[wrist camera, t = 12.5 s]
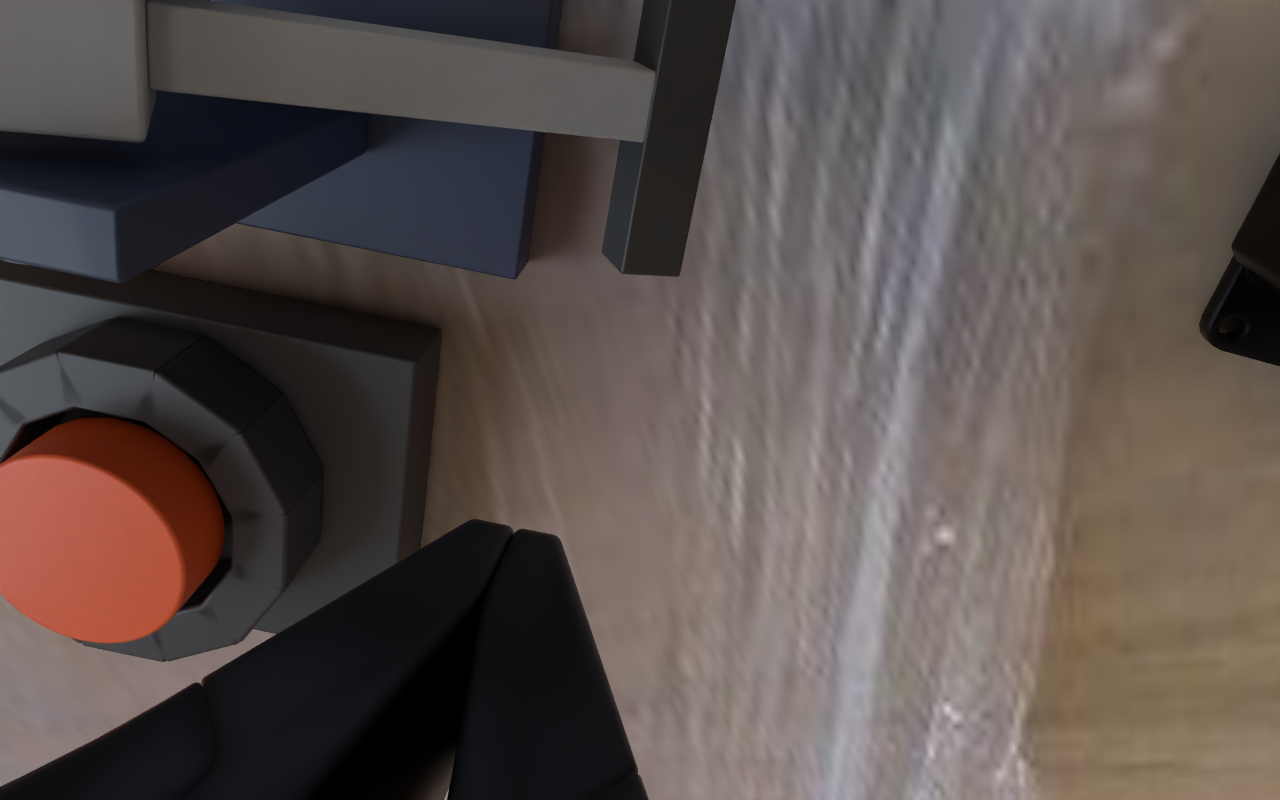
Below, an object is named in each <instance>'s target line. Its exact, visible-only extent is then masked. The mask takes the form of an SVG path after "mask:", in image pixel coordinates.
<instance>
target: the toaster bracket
mask: <svg viewBox="0 0 1280 800" xmlns="http://www.w3.org/2000/svg"><path fill="white" fill-rule="evenodd" d="M207 1H214V2H221V3H228V4H235V5H242V6H249V7H256V8H263V9H270V10H277V11H284V12H292V13H299V14H306V15H313V16H320V17H327V18H334V19H341V20H348V21H355V22H362V23H369V24H377V25H384V26H391V27H398V28H405V29H412V30H419V31H426V32H433V33H440V34H447V35H454V36H462V37H469V38H476V39H483V40H490V41H497V42H504V43H511V44H518V45H525V46H532V47H539V48H546V49H554V50H556V47H557V40H558V32H559V25H560V18H561V10H562V3H563V0H207ZM544 137H545V132H540V131H531V130H521V129H512V128H503V127H493V126H484V125H475V124H465V123H456V122H447V121H437V120H428V119H419V118H409V117H400V116H390V115H381V114H372V113H362V112H353V111H344V110H334V109H325V108H316V107H306V106H297V105H288V104H278V103H269V102H259V101H250V100H241V99H231V98H222V97H213V96H203V95H194V94H185V93H175V92H166V91H157V90H156V102H155V105H154V109H153V113H152V117H151V121H150V125H149V128H148V132H147V136H146V138H145V141H143V142H140V143H134V142H122V141H111V140H99V139H88V138H77V137H65V136H54V135H42V134H31V133H20V132H8V131H0V259H1V260H4V261H8V262H12V263H18V264H25V265H31V266H36V267H41V268H46V269H51V270H56V271H61V272H66V273H71V274H76V275H81V276H86V277H91V278H96V279H100V280H105V281H110V282H115V283H125V282H127V281H129V280H131V279H133V278H134V277H136V276H138V275H140V274H142V273H144V272H146V271H147V270H149V269H151V268H153V267H155V266H157V265H159V264H160V263H162V262H164V261H166V260H168V259H170V258H172V257H173V256H175V255H177V254H179V253H181V252H183V251H185V250H186V249H188V248H190V247H192V246H194V245H196V244H198V243H199V242H201V241H203V240H205V239H207V238H209V237H211V236H212V235H214V234H216V233H218V232H220V231H222V230H224V229H225V228H227V227H229V226H231V225H233V224H235V223H238V224H243V225H248V226H253V227H258V228H263V229H268V230H273V231H278V232H282V233H287V234H292V235H297V236H302V237H307V238H312V239H317V240H322V241H327V242H332V243H337V244H342V245H347V246H352V247H357V248H362V249H367V250H372V251H377V252H382V253H387V254H391V255H396V256H401V257H406V258H411V259H416V260H421V261H426V262H431V263H436V264H441V265H446V266H451V267H456V268H461V269H466V270H471V271H476V272H481V273H486V274H491V275H496V276H501V277H505V278H510V279H517V277H518V276H519V274H520V273H521V271H522V270H523V268H524V267H525V266H526V264H527V262H528V256H529V248H530V241H531V233H532V226H533V218H534V211H535V204H536V196H537V189H538V181H539V174H540V166H541V159H542V151H543V144H544Z"/></svg>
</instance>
